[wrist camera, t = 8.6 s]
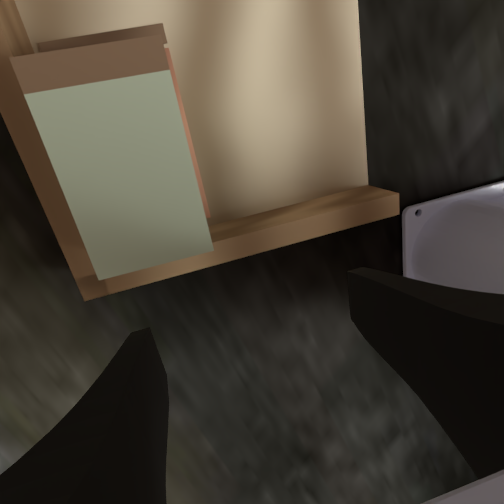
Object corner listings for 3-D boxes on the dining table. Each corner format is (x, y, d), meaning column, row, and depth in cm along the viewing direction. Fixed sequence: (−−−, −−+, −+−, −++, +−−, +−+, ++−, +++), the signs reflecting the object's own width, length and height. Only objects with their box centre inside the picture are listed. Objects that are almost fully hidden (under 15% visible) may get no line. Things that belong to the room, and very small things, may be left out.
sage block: (200, 215, 19) (214, 250, 13) (119, 235, 18) (98, 280, 13) (162, 67, 16) (161, 34, 10) (65, 84, 15) (8, 57, 10)
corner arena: (342, -156, 15) (389, -232, 12) (365, 201, 22) (399, 214, 18) (-65, -122, 13) (-141, -206, 10) (98, 272, 19) (84, 301, 16)
